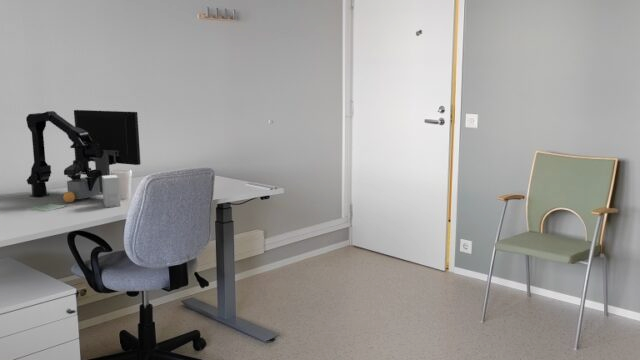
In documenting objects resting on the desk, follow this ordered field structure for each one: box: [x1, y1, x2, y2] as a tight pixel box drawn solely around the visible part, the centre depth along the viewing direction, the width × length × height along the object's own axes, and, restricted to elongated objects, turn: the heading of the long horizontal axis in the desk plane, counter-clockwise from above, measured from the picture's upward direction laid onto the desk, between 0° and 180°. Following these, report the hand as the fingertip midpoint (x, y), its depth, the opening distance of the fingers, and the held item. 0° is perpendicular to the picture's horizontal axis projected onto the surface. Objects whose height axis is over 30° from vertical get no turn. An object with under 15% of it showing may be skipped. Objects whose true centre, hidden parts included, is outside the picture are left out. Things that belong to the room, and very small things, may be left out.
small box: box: [102, 174, 121, 208], centre depth 272 cm, size 8×6×13 cm
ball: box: [62, 191, 76, 203], centre depth 279 cm, size 5×5×5 cm
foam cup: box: [110, 169, 133, 201], centre depth 286 cm, size 10×9×13 cm
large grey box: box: [66, 176, 101, 200], centre depth 286 cm, size 8×12×8 cm, turn 155°
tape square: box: [30, 203, 66, 212], centre depth 269 cm, size 10×10×1 cm
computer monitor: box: [73, 109, 142, 194], centre depth 299 cm, size 41×8×40 cm, turn 63°
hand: (84, 190), depth 286 cm, fingers closed on large grey box, 8 cm apart
